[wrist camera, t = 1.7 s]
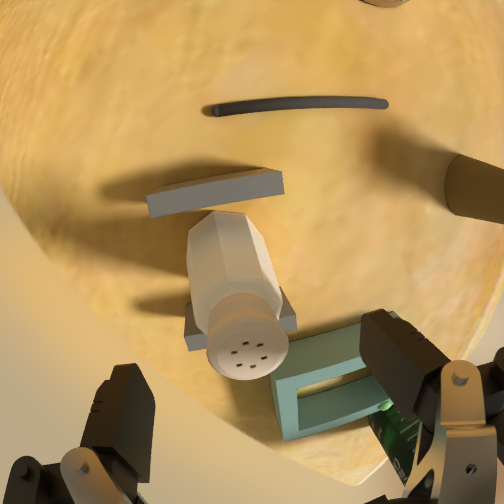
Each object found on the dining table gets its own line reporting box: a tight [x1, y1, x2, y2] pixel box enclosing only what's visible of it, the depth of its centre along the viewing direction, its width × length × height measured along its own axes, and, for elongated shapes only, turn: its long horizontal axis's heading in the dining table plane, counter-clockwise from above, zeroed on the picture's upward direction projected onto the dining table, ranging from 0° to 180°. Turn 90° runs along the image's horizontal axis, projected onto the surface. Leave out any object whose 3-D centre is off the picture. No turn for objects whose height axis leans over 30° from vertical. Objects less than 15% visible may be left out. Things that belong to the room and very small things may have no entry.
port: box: [269, 312, 401, 442], centre depth 23 cm, size 10×13×4 cm
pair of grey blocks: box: [146, 168, 297, 351], centre depth 17 cm, size 10×7×4 cm
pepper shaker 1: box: [186, 211, 289, 380], centre depth 14 cm, size 5×5×11 cm
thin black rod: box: [212, 97, 389, 117], centre depth 16 cm, size 13×1×1 cm, turn 98°
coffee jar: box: [368, 404, 421, 487], centre depth 21 cm, size 10×8×19 cm
